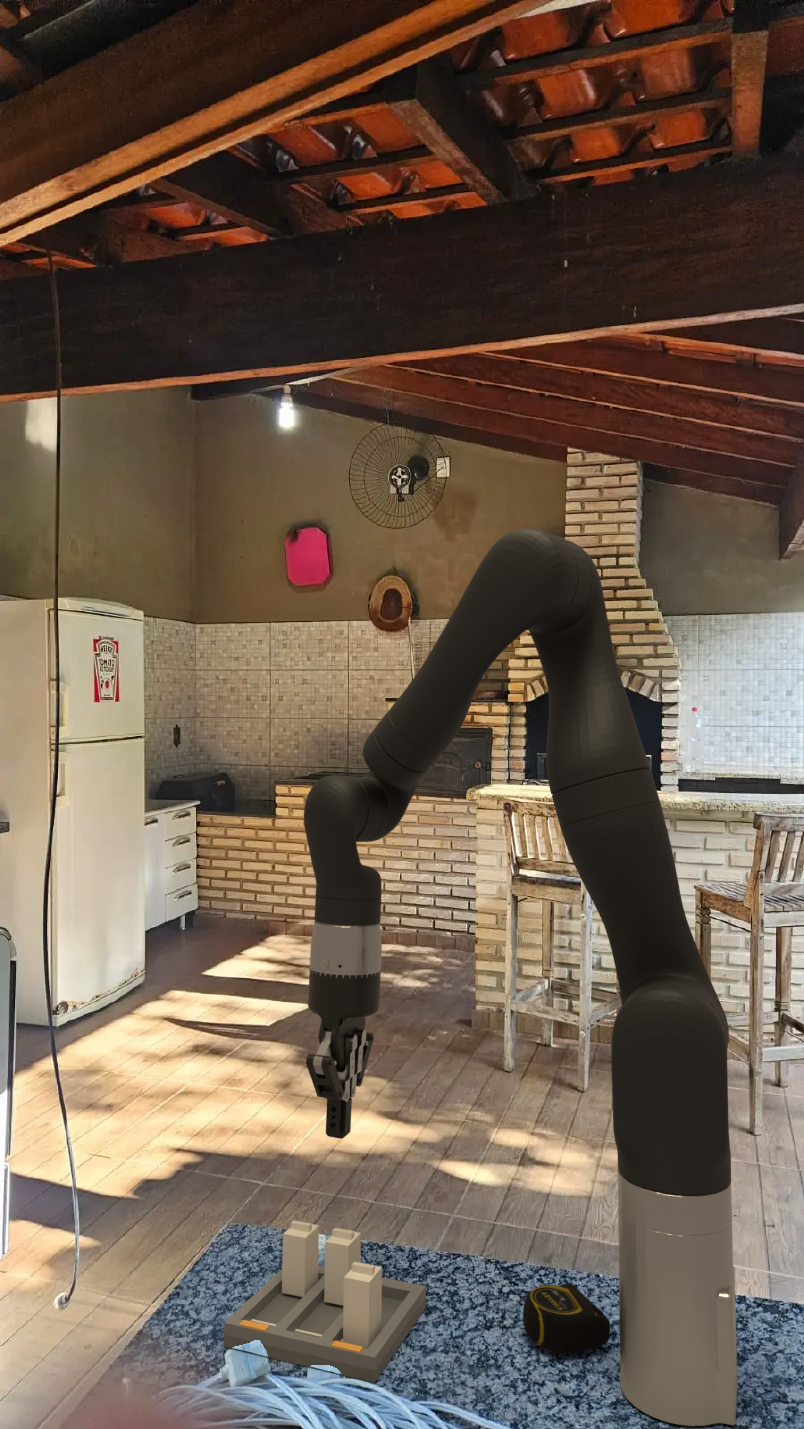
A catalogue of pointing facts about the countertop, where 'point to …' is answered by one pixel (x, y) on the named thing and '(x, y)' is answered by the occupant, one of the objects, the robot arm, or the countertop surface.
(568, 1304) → the tape measure
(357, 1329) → the beige tall block
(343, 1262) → the beige upright block
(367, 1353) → the switch board
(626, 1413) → the countertop surface
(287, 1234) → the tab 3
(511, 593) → the robot arm
